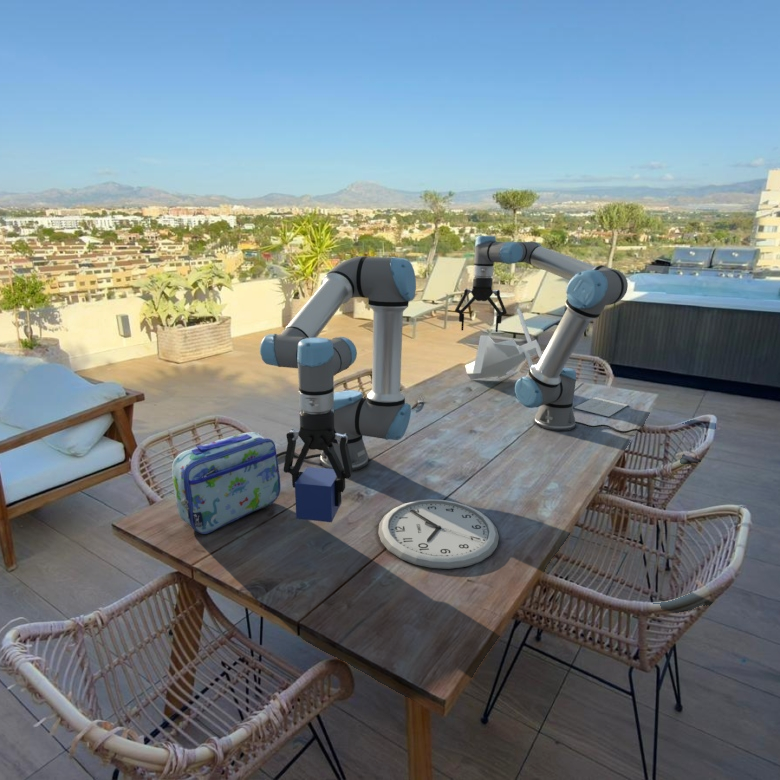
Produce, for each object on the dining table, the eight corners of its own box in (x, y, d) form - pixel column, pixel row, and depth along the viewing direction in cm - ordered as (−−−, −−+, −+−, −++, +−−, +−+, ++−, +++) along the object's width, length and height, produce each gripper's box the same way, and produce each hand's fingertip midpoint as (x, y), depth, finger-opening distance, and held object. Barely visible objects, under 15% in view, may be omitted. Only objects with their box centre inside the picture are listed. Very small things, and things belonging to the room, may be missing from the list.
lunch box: (192, 543, 125) (183, 462, 118) (173, 525, 132) (164, 448, 126) (285, 505, 142) (281, 433, 136) (263, 491, 149) (259, 422, 143)
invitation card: (608, 416, 214) (573, 407, 224) (608, 416, 214) (573, 408, 224) (628, 404, 229) (594, 396, 238) (628, 405, 229) (594, 397, 238)
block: (296, 518, 118) (294, 483, 116) (307, 500, 127) (306, 466, 124) (331, 522, 117) (331, 486, 115) (341, 503, 125) (340, 469, 123)
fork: (408, 410, 218) (408, 405, 217) (419, 398, 232) (419, 394, 231) (414, 410, 217) (414, 406, 216) (425, 399, 231) (425, 395, 231)
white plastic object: (486, 421, 262) (466, 398, 237) (467, 348, 284) (447, 320, 260) (558, 397, 250) (545, 370, 225) (533, 322, 272) (517, 290, 247)
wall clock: (515, 560, 118) (382, 565, 115) (514, 566, 118) (382, 571, 116) (482, 494, 146) (374, 497, 144) (481, 500, 147) (374, 502, 144)
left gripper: (264, 411, 112) (269, 505, 119) (360, 418, 109) (360, 514, 116) (277, 400, 120) (281, 489, 126) (367, 407, 116) (367, 498, 123)
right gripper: (450, 276, 202) (447, 330, 209) (516, 278, 199) (511, 333, 205) (451, 275, 209) (448, 327, 216) (515, 277, 206) (510, 330, 212)
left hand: (319, 501), depth 121 cm, fingers closed on block, 8 cm apart
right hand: (479, 330), depth 210 cm, fingers open, 13 cm apart
